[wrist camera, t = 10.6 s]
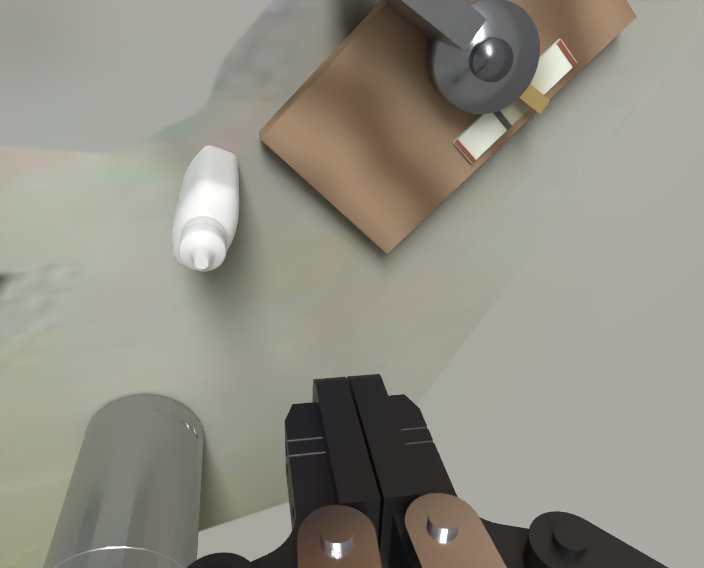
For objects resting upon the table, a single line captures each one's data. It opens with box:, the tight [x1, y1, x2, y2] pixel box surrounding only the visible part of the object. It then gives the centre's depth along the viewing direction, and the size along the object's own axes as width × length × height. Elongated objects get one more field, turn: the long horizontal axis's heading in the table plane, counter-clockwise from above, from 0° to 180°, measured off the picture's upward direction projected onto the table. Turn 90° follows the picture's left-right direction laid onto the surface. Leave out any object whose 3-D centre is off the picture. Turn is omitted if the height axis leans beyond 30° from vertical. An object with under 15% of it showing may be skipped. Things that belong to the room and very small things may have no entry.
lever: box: [382, 0, 550, 114], centre depth 33 cm, size 6×16×6 cm, turn 55°
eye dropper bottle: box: [172, 146, 239, 272], centre depth 35 cm, size 4×6×12 cm
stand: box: [260, 0, 636, 254], centre depth 38 cm, size 22×12×2 cm, turn 134°
